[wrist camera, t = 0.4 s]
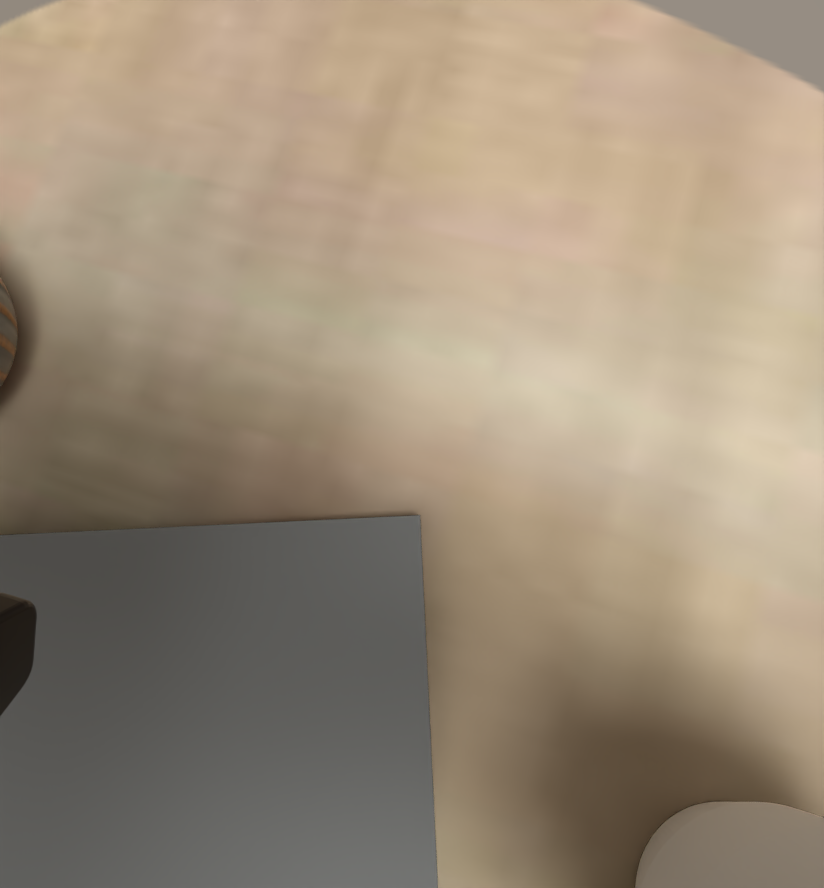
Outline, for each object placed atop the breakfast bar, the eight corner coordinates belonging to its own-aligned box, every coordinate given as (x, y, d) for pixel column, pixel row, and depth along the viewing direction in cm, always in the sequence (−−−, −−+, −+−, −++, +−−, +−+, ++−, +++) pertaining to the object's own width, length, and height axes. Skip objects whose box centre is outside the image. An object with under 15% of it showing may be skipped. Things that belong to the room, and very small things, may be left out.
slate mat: (444, 1028, 20) (445, 1047, 19) (-61, 1047, 20) (-82, 1068, 19) (420, 517, 22) (419, 515, 21) (-33, 538, 22) (-50, 537, 21)
